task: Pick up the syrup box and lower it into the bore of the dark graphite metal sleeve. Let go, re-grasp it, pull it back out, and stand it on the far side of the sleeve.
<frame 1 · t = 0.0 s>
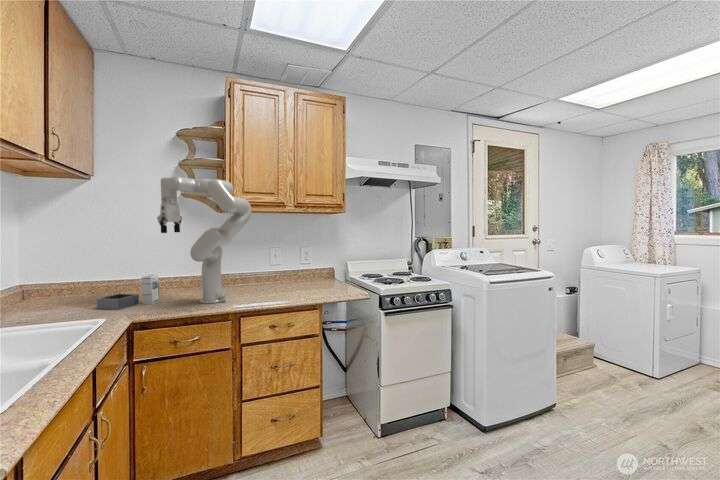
hand: (170, 232, 191), 37 cm above the worktop, tool pointing down, fingers open, 9 cm apart
metal sleeve: (118, 306, 179), on the worktop
syrup box: (151, 303, 185), on the worktop
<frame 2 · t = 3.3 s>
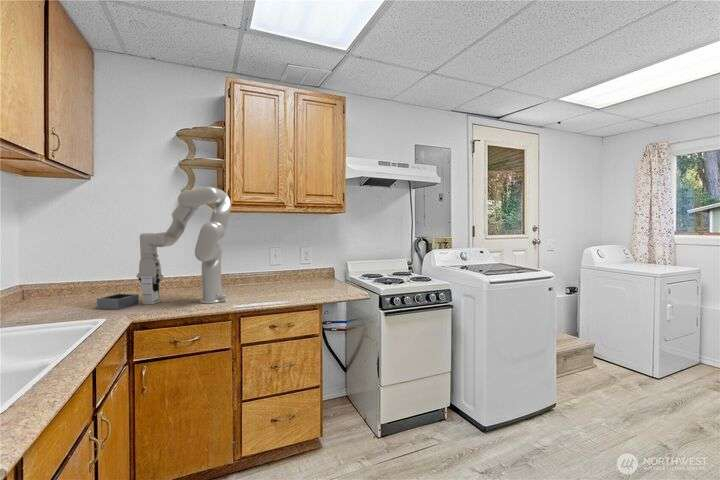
hand: (150, 290, 185), 7 cm above the worktop, tool pointing down, fingers closed on syrup box, 6 cm apart
syrup box: (151, 303, 185), on the worktop, touching gripper
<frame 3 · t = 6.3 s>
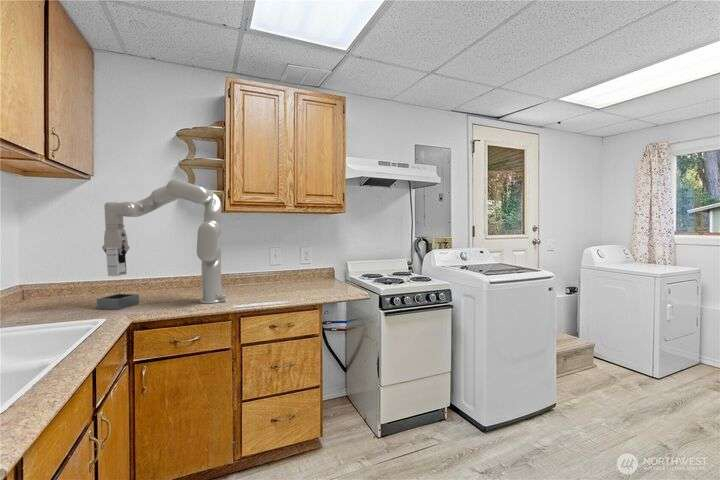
hand: (116, 262, 178), 22 cm above the worktop, tool pointing down, fingers closed on syrup box, 6 cm apart
syrup box: (117, 275, 178), point 16 cm above the worktop, touching gripper
when the fingers open (7 cm above the worktop, at t = 9.3 s): syrup box stays where it is, resting in metal sleeve.
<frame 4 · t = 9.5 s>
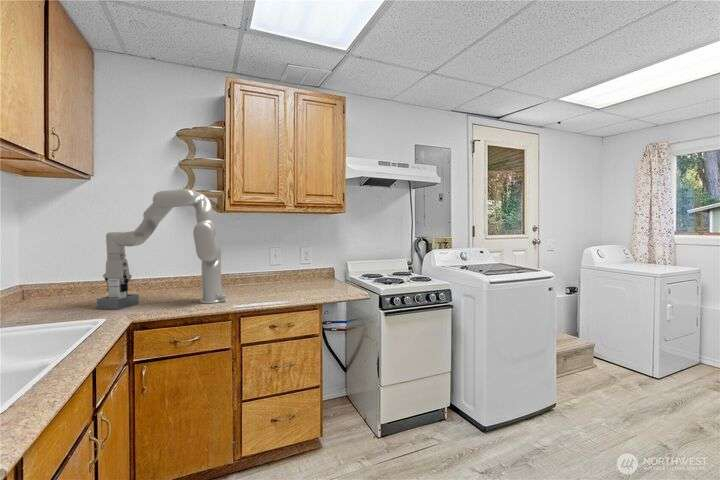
hand: (118, 291, 178), 8 cm above the worktop, tool pointing down, fingers open, 7 cm apart
syrup box: (118, 306, 179), resting in metal sleeve
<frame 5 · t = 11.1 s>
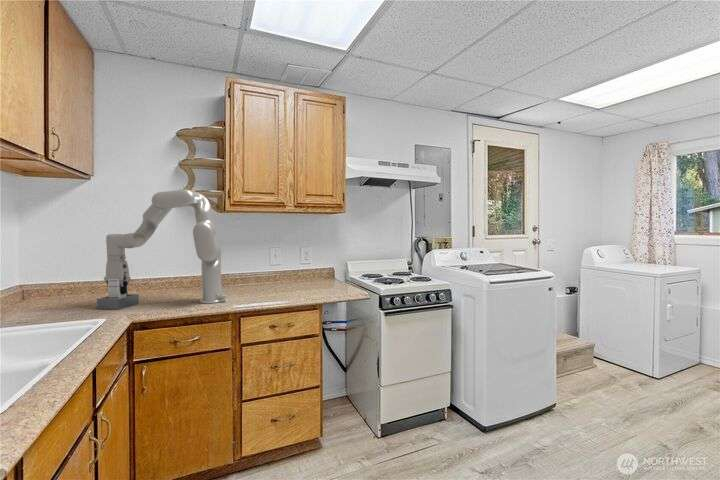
hand: (118, 293, 178), 7 cm above the worktop, tool pointing down, fingers closed on syrup box, 6 cm apart
syrup box: (118, 306, 179), resting in metal sleeve, touching gripper
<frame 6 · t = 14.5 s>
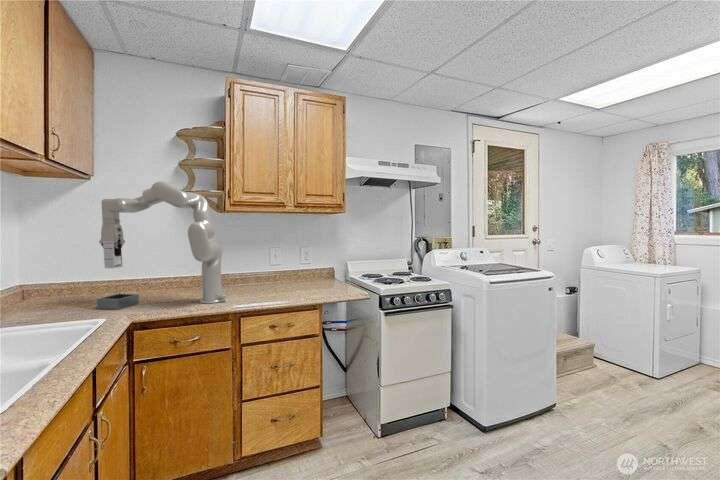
hand: (112, 255, 189), 25 cm above the worktop, tool pointing down, fingers closed on syrup box, 6 cm apart
syrup box: (113, 268, 189), point 18 cm above the worktop, touching gripper
when the fingers open (7 cm above the worktop, at t = 18.4 s): syrup box stays where it is, on the worktop.
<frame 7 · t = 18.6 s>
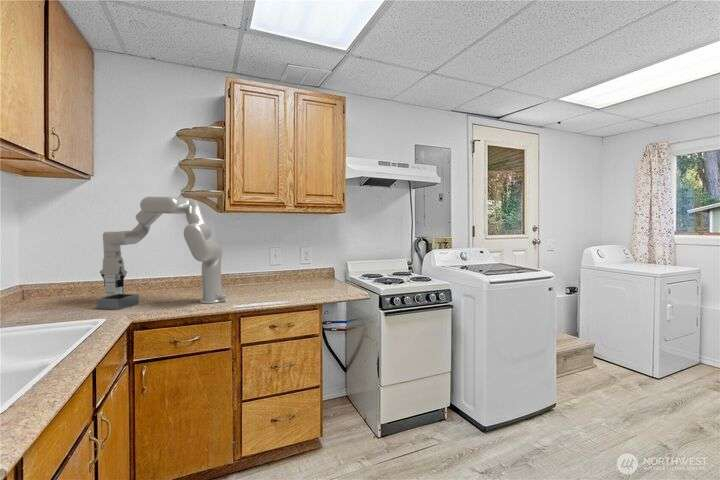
hand: (114, 286, 191), 8 cm above the worktop, tool pointing down, fingers open, 8 cm apart
syrup box: (115, 301, 191), on the worktop
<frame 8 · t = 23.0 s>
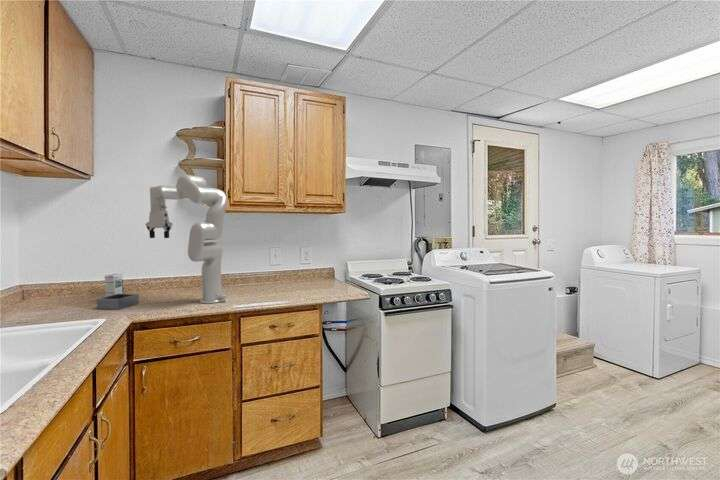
hand: (159, 238, 204), 33 cm above the worktop, tool pointing down, fingers open, 9 cm apart
nothing on the worktop moved.
at the end: syrup box inside the target area (0.1 cm from its centre), on the worktop; syrup box tilted 0°; the gripper is holding nothing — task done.
